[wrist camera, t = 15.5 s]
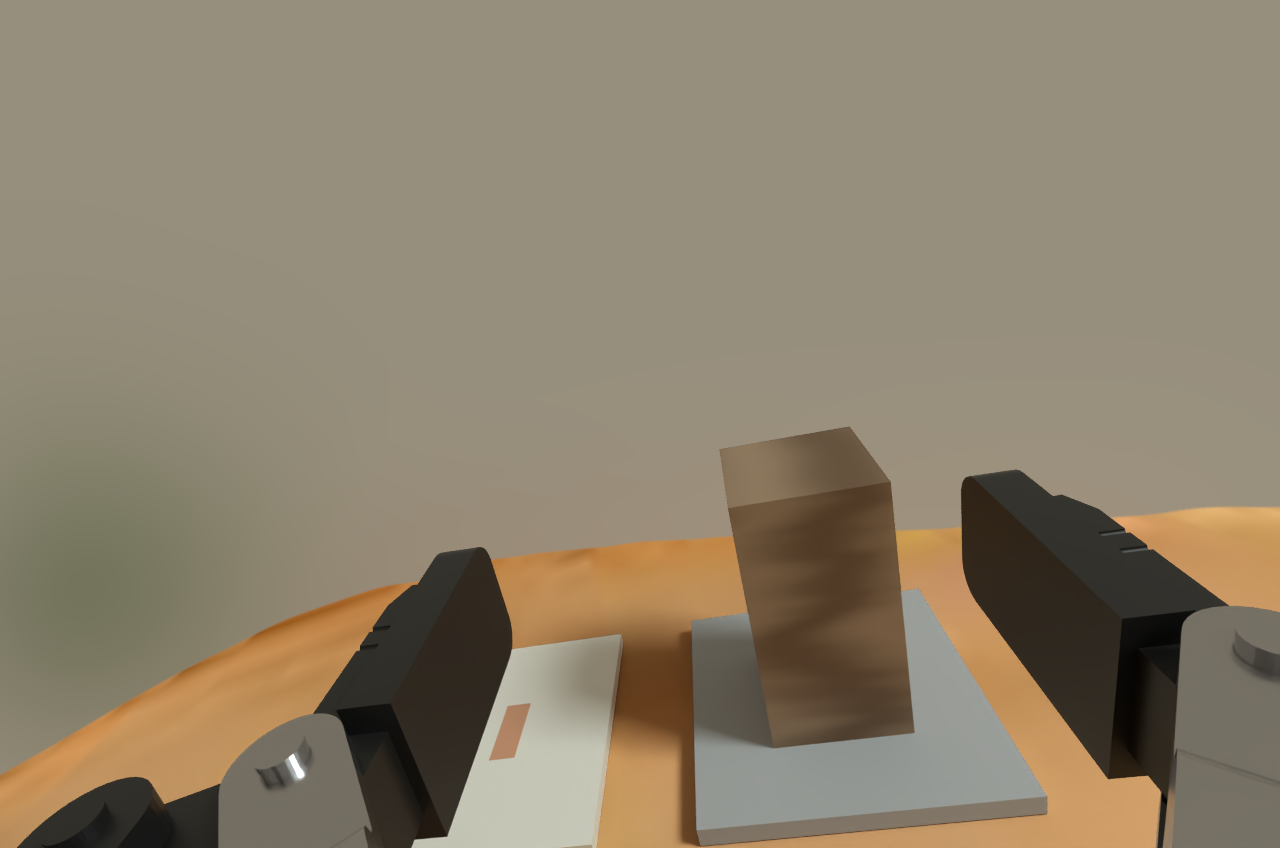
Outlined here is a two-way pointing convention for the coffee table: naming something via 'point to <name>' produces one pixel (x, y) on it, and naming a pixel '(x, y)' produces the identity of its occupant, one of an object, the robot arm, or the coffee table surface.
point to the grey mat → (849, 749)
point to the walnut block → (821, 586)
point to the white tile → (542, 751)
